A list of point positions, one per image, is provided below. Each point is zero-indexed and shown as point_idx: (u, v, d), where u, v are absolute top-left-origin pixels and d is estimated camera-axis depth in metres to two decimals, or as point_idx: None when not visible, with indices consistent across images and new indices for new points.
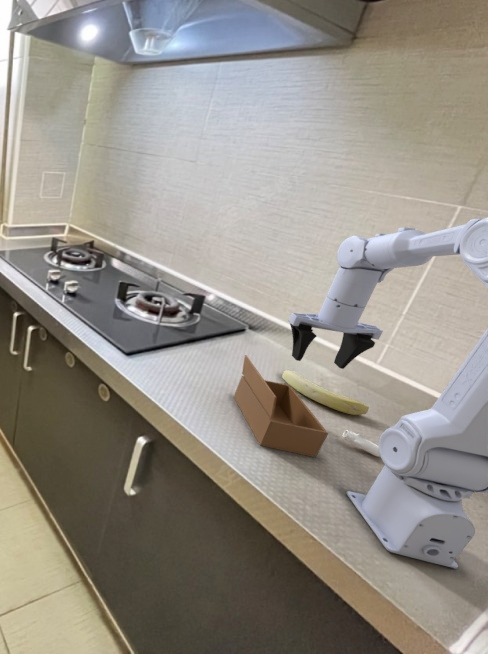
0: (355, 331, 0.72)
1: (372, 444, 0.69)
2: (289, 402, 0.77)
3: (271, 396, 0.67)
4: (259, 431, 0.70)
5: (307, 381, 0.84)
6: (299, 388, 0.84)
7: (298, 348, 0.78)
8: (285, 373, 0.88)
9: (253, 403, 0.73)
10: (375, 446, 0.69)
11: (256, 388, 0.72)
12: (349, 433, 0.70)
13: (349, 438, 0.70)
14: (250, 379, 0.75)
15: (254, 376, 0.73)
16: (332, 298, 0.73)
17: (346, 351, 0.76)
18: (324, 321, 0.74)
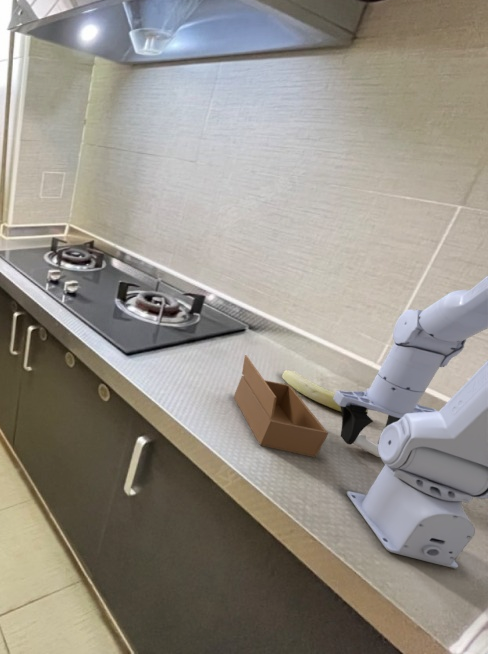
0: None
1: (373, 444, 0.69)
2: (289, 402, 0.77)
3: (271, 396, 0.67)
4: (259, 431, 0.70)
5: (307, 381, 0.84)
6: (299, 388, 0.84)
7: (349, 430, 0.69)
8: (285, 373, 0.88)
9: (253, 403, 0.73)
10: (376, 446, 0.68)
11: (256, 388, 0.72)
12: None
13: None
14: (250, 379, 0.75)
15: (254, 376, 0.73)
16: (381, 376, 0.65)
17: None
18: (376, 403, 0.65)
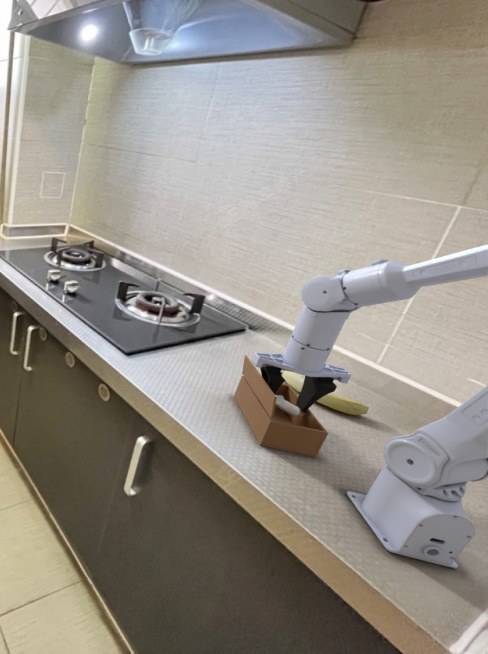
0: (321, 375, 0.67)
1: (290, 404, 0.72)
2: (289, 402, 0.77)
3: (271, 396, 0.67)
4: (259, 431, 0.70)
5: None
6: (299, 388, 0.84)
7: None
8: (285, 373, 0.88)
9: (253, 403, 0.73)
10: (293, 406, 0.72)
11: (256, 388, 0.72)
12: None
13: None
14: (250, 379, 0.75)
15: (254, 376, 0.73)
16: (303, 343, 0.66)
17: (307, 393, 0.70)
18: (288, 363, 0.69)
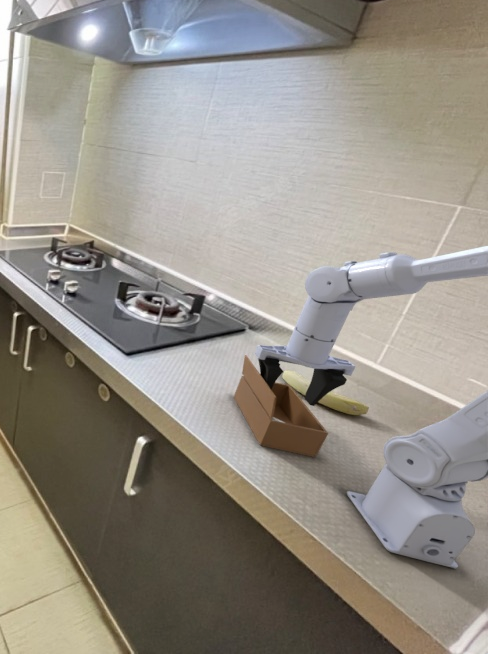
0: (325, 367, 0.66)
1: None
2: (289, 402, 0.77)
3: (271, 396, 0.67)
4: (259, 431, 0.70)
5: (307, 381, 0.84)
6: (299, 388, 0.84)
7: None
8: (285, 373, 0.88)
9: (253, 403, 0.73)
10: None
11: (256, 388, 0.72)
12: None
13: None
14: (250, 379, 0.75)
15: (254, 376, 0.73)
16: (307, 334, 0.66)
17: (317, 387, 0.70)
18: (292, 355, 0.68)
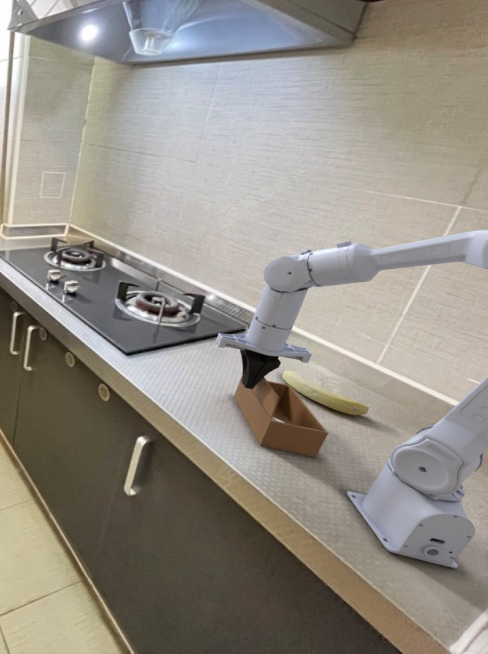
0: (282, 354, 0.67)
1: None
2: (289, 402, 0.77)
3: (273, 396, 0.67)
4: (259, 431, 0.70)
5: (307, 381, 0.84)
6: (299, 388, 0.84)
7: (247, 375, 0.72)
8: (285, 373, 0.88)
9: (253, 403, 0.73)
10: None
11: (257, 388, 0.72)
12: None
13: None
14: None
15: None
16: (269, 324, 0.66)
17: None
18: (250, 343, 0.69)
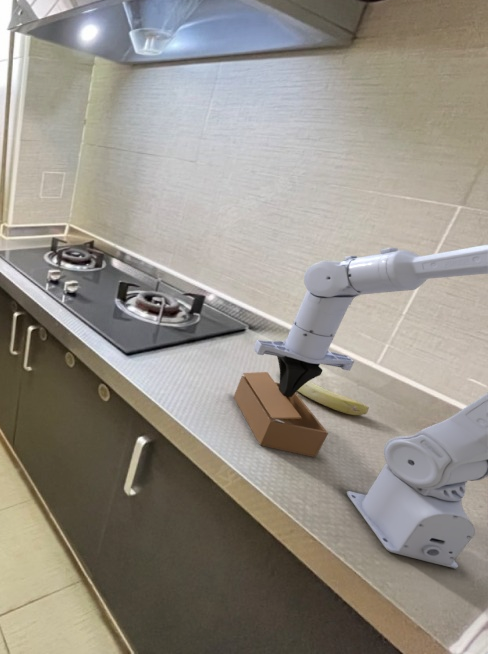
0: (324, 362, 0.66)
1: None
2: None
3: (294, 413, 0.67)
4: (259, 431, 0.70)
5: None
6: None
7: (285, 382, 0.71)
8: None
9: (253, 403, 0.73)
10: None
11: (265, 393, 0.72)
12: None
13: None
14: (258, 384, 0.75)
15: (272, 388, 0.73)
16: (306, 329, 0.65)
17: None
18: (291, 350, 0.68)
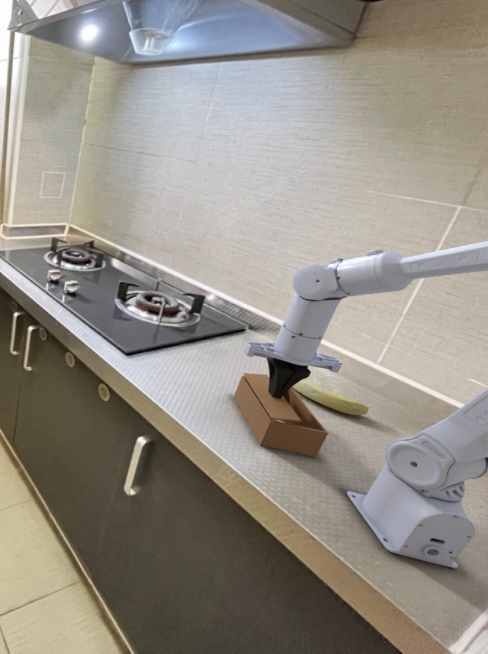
0: (312, 364, 0.66)
1: None
2: (289, 402, 0.77)
3: (294, 415, 0.67)
4: (259, 431, 0.70)
5: (307, 381, 0.84)
6: (299, 388, 0.84)
7: (274, 384, 0.71)
8: None
9: (253, 403, 0.73)
10: None
11: (265, 394, 0.72)
12: None
13: None
14: (258, 385, 0.75)
15: None
16: (296, 332, 0.66)
17: None
18: (279, 352, 0.68)
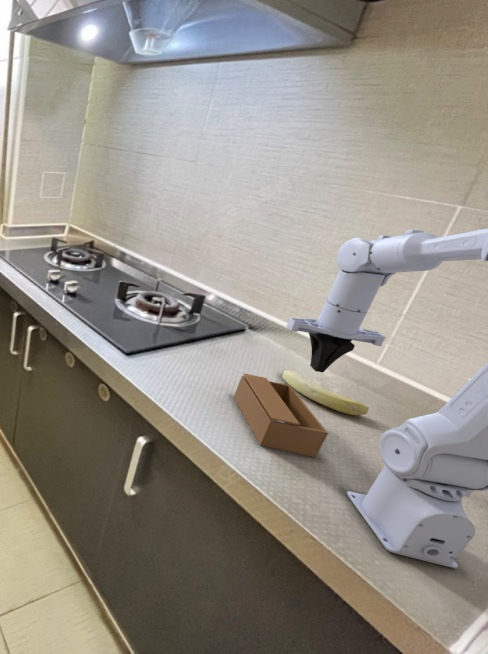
0: (356, 337, 0.69)
1: None
2: (289, 402, 0.77)
3: (293, 419, 0.67)
4: (259, 431, 0.70)
5: (307, 381, 0.84)
6: (299, 388, 0.84)
7: (317, 358, 0.74)
8: (285, 373, 0.88)
9: (253, 403, 0.73)
10: None
11: (265, 396, 0.73)
12: None
13: None
14: (258, 386, 0.75)
15: (271, 393, 0.74)
16: (333, 303, 0.69)
17: None
18: (324, 327, 0.71)
